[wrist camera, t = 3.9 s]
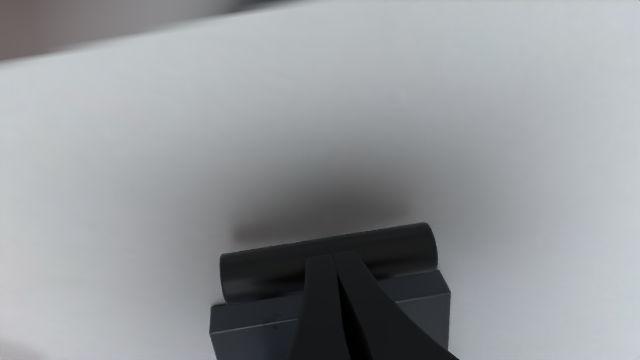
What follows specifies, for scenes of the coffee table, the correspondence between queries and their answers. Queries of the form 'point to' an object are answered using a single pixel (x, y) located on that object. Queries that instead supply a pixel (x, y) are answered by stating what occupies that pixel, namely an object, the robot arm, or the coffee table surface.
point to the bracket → (282, 314)
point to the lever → (289, 259)
